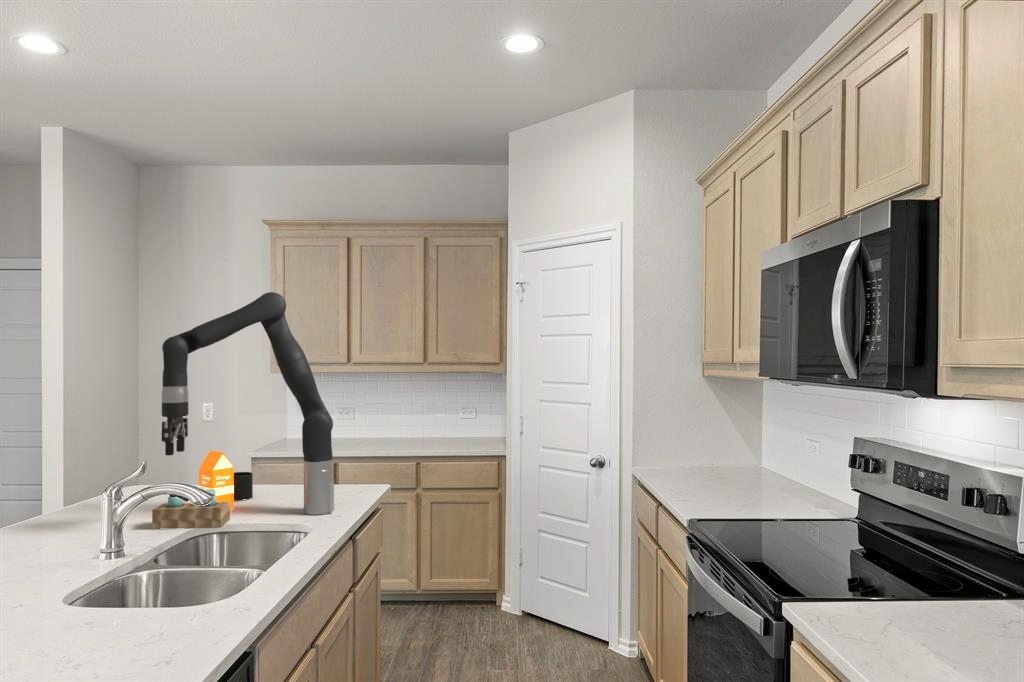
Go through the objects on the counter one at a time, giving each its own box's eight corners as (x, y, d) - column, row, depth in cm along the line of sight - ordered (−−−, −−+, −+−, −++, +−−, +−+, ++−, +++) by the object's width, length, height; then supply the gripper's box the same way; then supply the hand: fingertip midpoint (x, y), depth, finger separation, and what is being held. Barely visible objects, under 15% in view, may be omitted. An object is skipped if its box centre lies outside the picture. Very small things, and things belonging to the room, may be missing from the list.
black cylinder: (261, 495, 263) (261, 471, 263) (242, 502, 251) (242, 476, 251) (239, 494, 265) (239, 470, 265) (219, 501, 253) (219, 475, 253)
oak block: (230, 520, 223) (229, 501, 223) (220, 527, 214) (220, 507, 214) (164, 522, 221) (164, 503, 221) (152, 529, 212) (152, 509, 212)
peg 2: (217, 507, 220) (217, 488, 220) (213, 509, 216) (213, 491, 216) (204, 507, 220) (204, 489, 220) (199, 510, 216) (199, 491, 216)
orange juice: (212, 514, 231) (212, 453, 231) (198, 511, 236) (198, 451, 237) (234, 510, 237) (234, 451, 238) (220, 507, 243) (219, 449, 243)
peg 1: (184, 508, 219) (184, 489, 219) (179, 510, 215) (179, 492, 215) (171, 508, 219) (171, 490, 219) (165, 511, 215) (165, 492, 215)
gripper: (178, 402, 211) (178, 456, 211) (196, 399, 225) (196, 450, 225) (152, 402, 210) (152, 457, 210) (171, 399, 225) (171, 450, 224)
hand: (175, 453), depth 218 cm, fingers open, 8 cm apart
